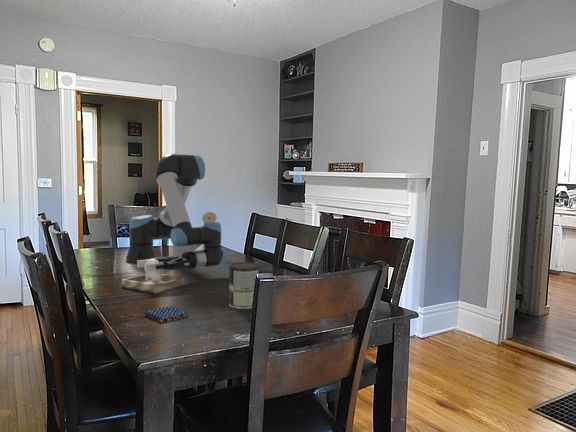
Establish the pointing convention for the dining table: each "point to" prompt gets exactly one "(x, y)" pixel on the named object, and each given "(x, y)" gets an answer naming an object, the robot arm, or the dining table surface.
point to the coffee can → (242, 284)
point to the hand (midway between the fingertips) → (142, 265)
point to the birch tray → (148, 286)
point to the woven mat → (166, 314)
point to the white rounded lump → (152, 272)
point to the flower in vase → (207, 218)
